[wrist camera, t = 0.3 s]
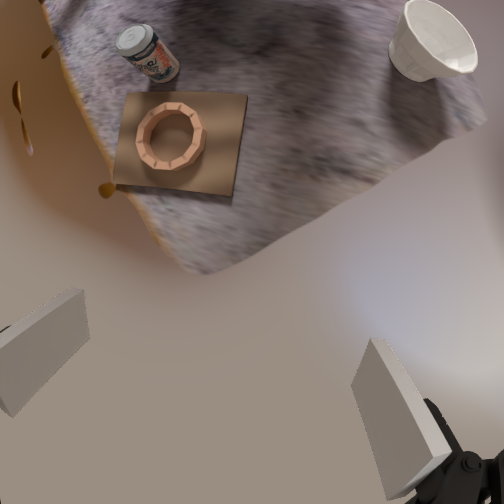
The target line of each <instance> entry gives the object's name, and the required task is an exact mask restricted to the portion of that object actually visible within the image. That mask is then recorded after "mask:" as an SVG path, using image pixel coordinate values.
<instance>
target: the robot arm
mask: <svg viewBox="0 0 504 504" xmlns="http://www.w3.org/2000/svg"><path fill="white" fill-rule="evenodd" d="M89 339H90V334H89V328H88V321H87V314H86V306H85V297H84V290H83V289H79V288H76V287H71V288H69V289H67V290H66V291H64V292H63V293H61V294H59V295H58V296H56V297H55V298H53V299H51V300H50V301H48V302H47V303H45V304H43V305H42V306H40V307H39V308H37V309H36V310H34V311H32V312H31V313H29V314H28V315H26V316H25V317H23V318H22V319H21V320H19V321H17V322H16V323H14V324H13V325H11V326H8V327H6V328H4V329H3V330H2V331H0V408H1V409H2V410H3V411H4V412H5V413H7V414H8V415H9V416H10V417H12V418H13V417H15V415H16V414H17V413H18V412H19V411H20V410H21V409H22V408H23V406H24V405H25V404H26V403H27V402H28V401H29V400H30V399H31V398H32V397H33V396H34V395H35V394H36V392H38V390H39V389H40V388H41V387H42V386H43V385H44V384H45V383H46V382H47V381H48V380H49V379H50V378H51V377H52V376H53V375H54V374H55V373H56V372H57V371H58V370H59V369H60V368H61V367H62V366H63V365H64V364H65V363H66V362H67V361H68V360H69V359H70V358H71V357H72V356H73V355H74V354H75V353H76V352H77V351H78V350H79V349H80V348H81V347H82V346H83V345H84V344H85V343H86V342H87V341H88V340H89ZM351 387H352V390H353V393H354V396H355V399H356V402H357V404H358V408H359V411H360V413H361V417H362V419H363V423H364V426H365V429H366V432H367V435H368V438H369V441H370V444H371V448H372V451H373V454H374V457H375V461H376V464H377V467H378V471H379V474H380V477H381V481H382V484H383V488H384V492H385V495H386V499H387V501H388V500H393V499H397V498H401V497H404V496H406V495H407V494H409V493H410V492H411V491H412V490H413V489H414V488H415V489H416V492H417V494H416V495H415V496H414V497H413V498H411V499H410V500H409V501H407V502H406V503H405V504H485V500H486V499H488V498H489V497H490V496H491V502H490V503H489V504H504V450H502V451H501V452H500V453H499V454H498V455H497V456H496V457H495V458H494V459H485V460H482V459H481V458H480V457H479V456H478V454H476V453H474V452H471V451H465V452H463V450H462V449H461V447H460V445H459V443H458V441H457V440H456V438H455V436H454V435H453V433H452V431H451V429H450V428H449V426H448V425H446V421H445V419H444V418H443V417H442V414H441V413H440V411H439V409H438V408H437V406H436V405H435V404H434V403H432V402H431V401H430V400H429V399H428V398H427V399H422V397H421V395H420V394H419V392H418V390H417V389H416V387H415V385H414V384H413V382H412V381H411V379H410V378H409V376H408V374H407V373H406V371H405V369H404V368H403V366H402V365H401V363H400V362H399V360H398V359H397V357H396V355H395V354H394V352H393V351H392V349H391V348H390V346H389V345H388V343H387V342H386V340H385V339H372V338H371V339H370V340H369V343H368V345H367V348H366V351H365V353H364V356H363V358H362V361H361V363H360V366H359V368H358V370H357V373H356V375H355V377H354V380H353V382H352V384H351ZM0 504H1V501H0Z"/></svg>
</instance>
